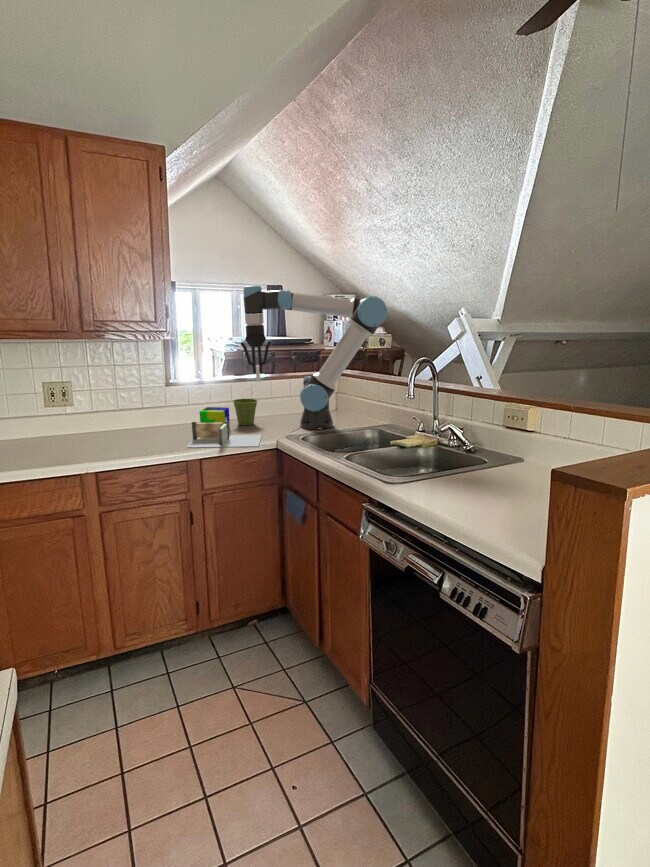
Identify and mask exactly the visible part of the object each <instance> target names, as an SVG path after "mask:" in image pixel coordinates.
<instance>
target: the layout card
mask: <svg viewBox="0 0 650 867" xmlns="http://www.w3.org/2000/svg"><path fill="white" fill-rule="evenodd" d="M262 436H263V435H262V434H241V435H240V434H233V435H232V434H229V439H226V441H225V442H224V443H223V445H219V437H214V438H197V439H196V440H194V439H193V438H192V440H191V441H190V442H189V444H188V445H186V449H192V448H193V449H201V448H202V449H204V448H206V449H209V448H210V449H211V448H215V449H216V448H259V447H260V443H261V440H262Z"/></svg>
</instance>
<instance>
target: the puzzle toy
mask: <svg viewBox="0 0 650 867" xmlns="http://www.w3.org/2000/svg"><path fill="white" fill-rule="evenodd" d="M225 421H228V422H229V431H230V430H231V423H230V422H231V421H230V407H225V406H224V407H222V406H221V407H217V406H216V407H215V406H214V407H213V406H207V407H205V408H203V409H202V410H200V411H199V423H223V424H224V422H225Z"/></svg>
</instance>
